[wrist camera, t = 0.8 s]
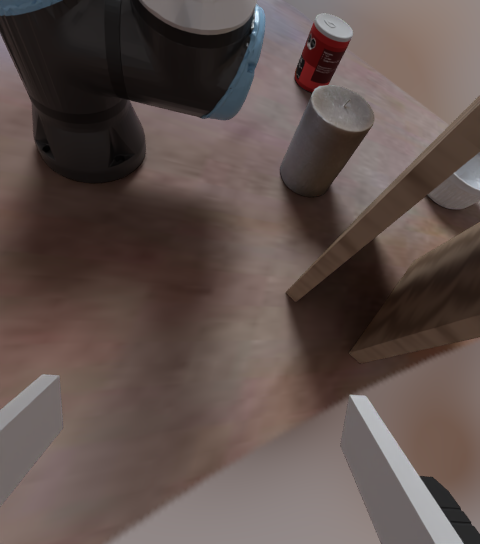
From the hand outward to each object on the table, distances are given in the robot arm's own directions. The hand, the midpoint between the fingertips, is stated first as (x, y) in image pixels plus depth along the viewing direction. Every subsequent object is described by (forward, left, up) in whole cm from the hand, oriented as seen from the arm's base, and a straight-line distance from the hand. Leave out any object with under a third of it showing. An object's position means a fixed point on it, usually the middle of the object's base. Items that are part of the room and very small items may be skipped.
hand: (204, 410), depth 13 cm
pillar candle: (-38, +20, -23) cm, 48 cm away
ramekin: (-40, +51, -23) cm, 68 cm away
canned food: (-66, +25, -23) cm, 74 cm away
